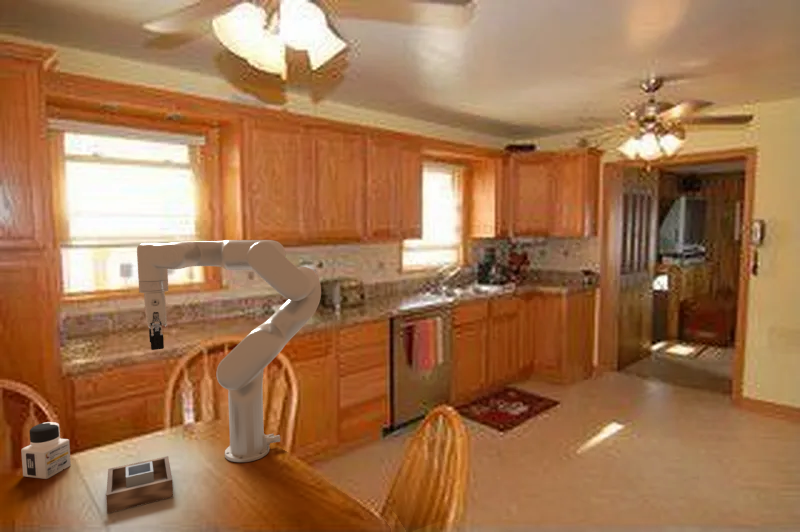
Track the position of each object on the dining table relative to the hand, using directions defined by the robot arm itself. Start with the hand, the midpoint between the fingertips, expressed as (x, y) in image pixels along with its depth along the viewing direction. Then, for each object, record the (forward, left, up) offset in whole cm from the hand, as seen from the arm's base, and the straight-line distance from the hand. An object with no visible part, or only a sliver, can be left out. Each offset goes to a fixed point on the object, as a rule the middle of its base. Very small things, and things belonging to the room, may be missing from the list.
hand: (156, 345), depth 141 cm
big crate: (+6, +20, -32) cm, 38 cm away
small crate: (+6, +20, -32) cm, 38 cm away
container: (+28, -4, -32) cm, 43 cm away
